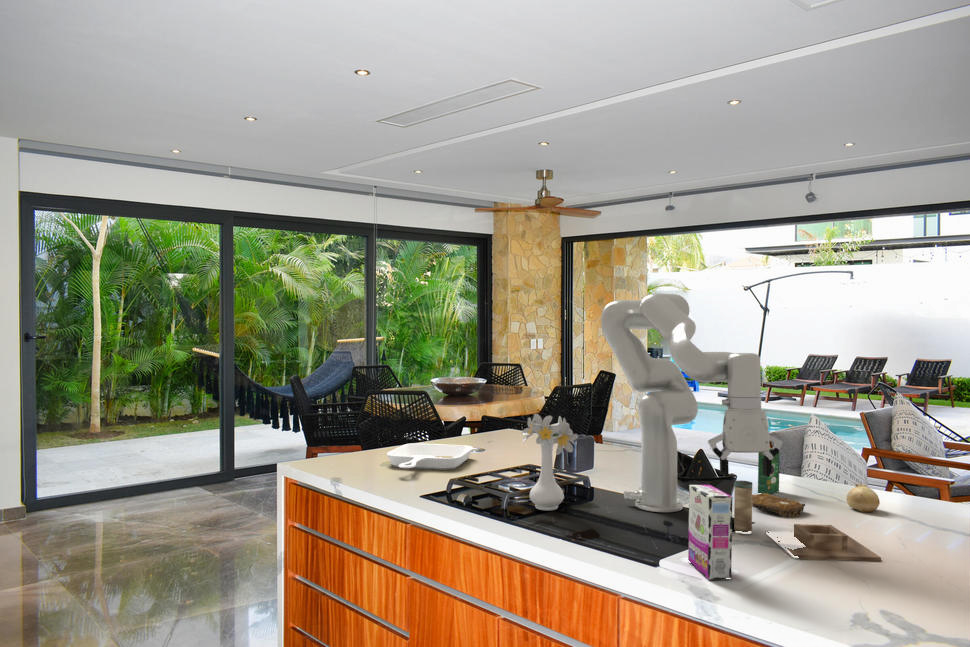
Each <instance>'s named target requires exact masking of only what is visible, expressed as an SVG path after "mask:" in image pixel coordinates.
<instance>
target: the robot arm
mask: <svg viewBox="0 0 970 647" xmlns="http://www.w3.org/2000/svg"><path fill="white" fill-rule="evenodd" d="M689 314H690V305H689V303H688V301H687V300H686V299H685V297H683V296H682V295H679V294H677V293H676V294H675V293H663V292H662V293H660V292H658V293H657V292H655V293H651V294H648V295H646V296H645V297H644V298H642V300H637V299H636V300H635V299H632V300H631V299H620V300H619V299H618V300H614V301H611V302H608V304H607V305H605V306H604V308H603V310H602V313H601V317H600V327H601V331H602V335H603V337H604V339H605V341H606V343H607V344H608V345H609V347H610V348H611V351H612V352H613V354H614V355H615V357H616V360H617V361H618V365H619V366H620V367H621V370H622V371H623V375H624V376H625V378H626V379H627V382H628V383H629V386H630V387H631V388H632V390H634V391H635V392H638V393H646V394H644V395H643V396H642V397H641V398H640V400H639V402H638V404H637V413H638V414H637V415H638V419H639V425H640V434H641V436H640V437H641V440H640V441H641V442H640V443H641V457H640V458H641V462H640V463H641V473H640V474H641V477H640V478H641V479H640V480H641V483H640V484H641V486H640V487H638V489H635V491H631V490H623V498H624V499H629V500H635V502H634V503H635V504H634V505H635V507H637V508H638V509H640V510H644V511H647V512H656V513H674V512H675V513H676V512H680V511H681V510H683V509H684V503H682V502H681V501H679V500H678V441H677V437H676V435H675V432H674V430H673V427H672V426H676V425H678V426H679V425H686V424H688V423H691V422H693V421H694V420H695V419H696V417H697V415H698V411H699V409H698V408H699V407H698V402H697V399H696V397H695V393H693V391H692V389H691V387H690V385H689V383H688V381H687V380H686V378H685V376H684V375H683V373H684V374H685V375H686V376H687V377H689V378H690V379H691V380H693V381H695V382H697V383H703V384H704V383H720V382H721V383H722V382H723V383H724V382H726V383H727V396H726V398H725V399H721V404H722V406H725V407H727V409H725V411H724V415H723V423H722V433H720V434H718V435H716V436H714V437H712V438H710V439H709V440H707V444H708V445H709V447H710V449H711V451H712V452H713V453H714V454H715V455H716V456H717V457H718V458H719V472H720V473H721V474H722V475H723V476H724V477H726V478H727V477H729V475H730V474H729V473H730V471H729V469H730V468H729V460H728V457H729V456H730V454H731V453H745V454H746V453H753V454H755V453H757V454H758V453H762V454H763V455H764V458H763V459H762V466H763V475H765V476H767V477H770V473H771V472H772V459H773V458H774V456H775V455H776V454H777V453H778V452H779V453H780V450H781V448H782V446H783V443H784V442H783V440H781V439H779V438H777V437H775V436H774V435H771V434H770V433H769V423H768V417H767V413H766V410H764V409H762V377H761V375H762V374H761V373H762V372H761V357H760V355H759V354H757V353H753V352H736V353H735V352H729V351H702V350H701V349H699V348H698V347H697V345H696V344H694V343H693V342H692V341H691V340H692V338H693V337H694V335H695V333H696V330H697V326H696V323H695V321H694V320H692V319H691V317H689V316H690V315H689ZM653 329H654V330H655V331H656V332H657V333H658V334H659V335H660V336H661V337H662V338H664V340H665V341H667V343H668V344H669V352H670V355H671V358H672V360H671V359H668V358H665V357H664V358H663V357H662V358H661V357H659V358H658V357H657V358H656V357H655V358H654V357H652V356H651V355H650V354H649V353H648V351H647V349H646V347H645V345H644V343H643V342H642V341H641V339H640V338H638V336H636V334H634V333H633V332H632V331H631V330H653ZM682 372H683V373H682ZM719 442H720V443H721V442H722V443H721V444H722V448H721V450H720V449H719V448H718V446H717V444H718V443H719ZM770 442H771V443H773V446H772V447H771V444H770ZM769 448H772V449H771V450H770V451H768V450H769Z"/></svg>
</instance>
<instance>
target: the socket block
mask: <svg viewBox="0 0 970 647" xmlns="http://www.w3.org/2000/svg"><path fill="white" fill-rule="evenodd" d="M766 531H767V532H768V531H769V530H766ZM793 531H794V537H796V538H797V539H798V540H799V541H800V542H801V543H803V544H804V545H805V546H806V547H803V548H797V549H794V550H792V549H789V548H787V549H788V550H789V551H790V552H791V553H792V554H793V555H794V556H798V557H799V559H798V560H819V561H820V560H823V561H825V560H826V561H827V560H828V561H859V562H860V561H863V562H882V557H881V556H880V555H878V554H877V553H875V552H874V551H872V550H871V549H870V548H868V547H866V546H865V545H863V544H861V543H860V542H858V541H857V540H855V539H854V538H852V537H851V536H849V535H848V534H847V533H844V532H843V531H841V530H839V529H838V528H836V527H835V526H833V525H832V524H809V523H808V524H807V523H806V524H804V523H803V524H800V523H794V524H793ZM768 533H769V532H768ZM777 538H778V537H777ZM778 542H780V541H778ZM785 548H786V547H785Z"/></svg>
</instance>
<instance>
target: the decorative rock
mask: <svg viewBox="0 0 970 647" xmlns="http://www.w3.org/2000/svg"><path fill="white" fill-rule="evenodd" d="M753 506H754V507H755V506H756V507H758V508H759V510H764V511H765V512H767V511H771V512H774V513H776V514H778V515H779V516H781V517H792V518H798V517H800V516H801V512H804V509H805V506H806V503H801V502H799V501H798V500H793V499H790V498H787V497H785V498H784V497H779V496H776V495H773V494H766V493H761V494H758V493H756V494H752V507H753Z"/></svg>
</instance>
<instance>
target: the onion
mask: <svg viewBox="0 0 970 647" xmlns="http://www.w3.org/2000/svg"><path fill="white" fill-rule="evenodd" d="M854 484H855V485H854V486H855V487H852V488H851V489H850V490H848V492H847V494H846V498H845V499H846V503H847V504H848V506H849V507H850V508H852V509H854V510H856V511H858V512H860V513H871V512H874V511H875V510H877V509H878V508H879V506H880V504H881V503H880V498H879V496H878V494H877V492H875V491H874V490H873V489H872V488H870V487H868V486H866V484H862V483H856V482H854Z"/></svg>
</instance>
